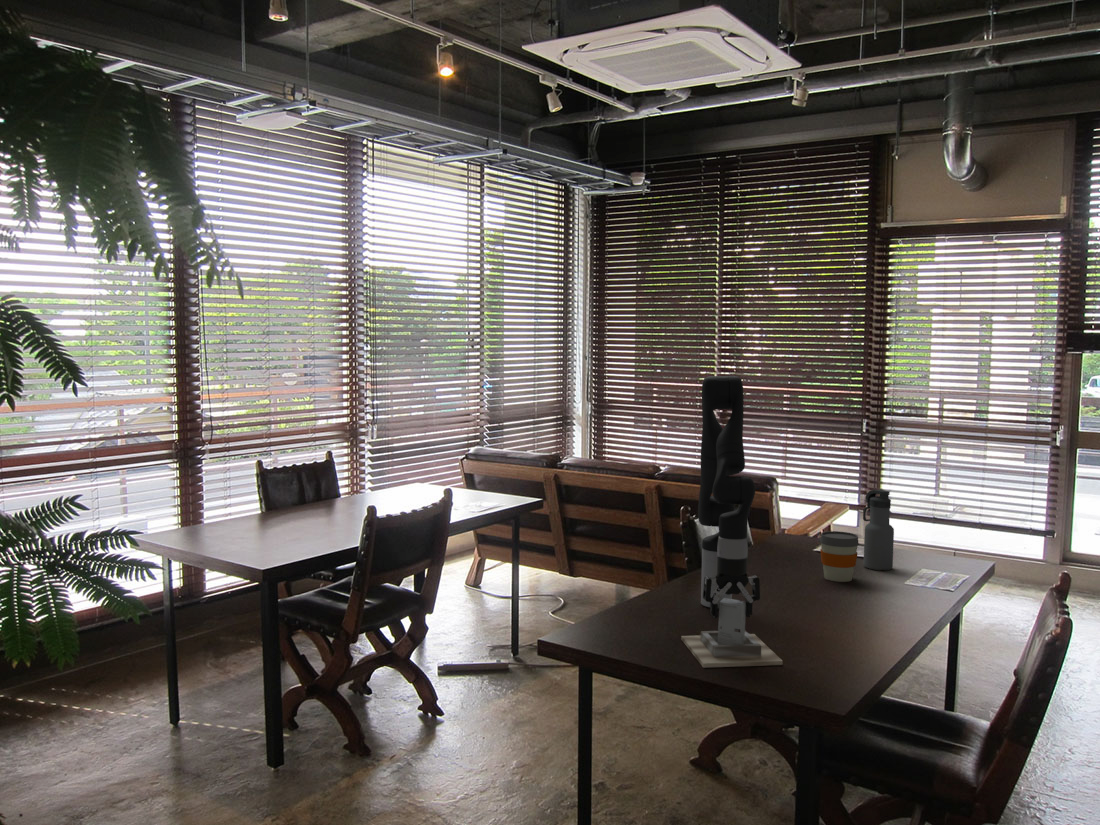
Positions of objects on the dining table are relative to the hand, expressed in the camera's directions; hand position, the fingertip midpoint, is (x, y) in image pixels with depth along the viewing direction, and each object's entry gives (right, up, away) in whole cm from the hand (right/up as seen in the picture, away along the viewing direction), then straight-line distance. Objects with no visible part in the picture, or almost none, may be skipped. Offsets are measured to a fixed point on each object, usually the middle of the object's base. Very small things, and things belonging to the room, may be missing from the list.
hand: (730, 616), depth 214 cm
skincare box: (0, -8, +1) cm, 8 cm away
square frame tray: (0, -9, +1) cm, 9 cm away
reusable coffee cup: (+52, -5, +73) cm, 90 cm away
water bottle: (+72, -4, +88) cm, 113 cm away
